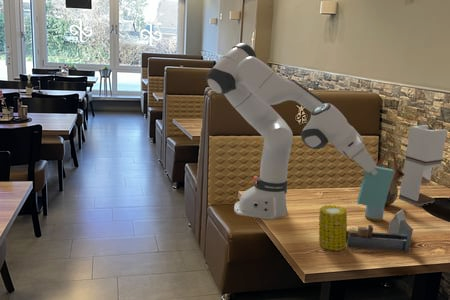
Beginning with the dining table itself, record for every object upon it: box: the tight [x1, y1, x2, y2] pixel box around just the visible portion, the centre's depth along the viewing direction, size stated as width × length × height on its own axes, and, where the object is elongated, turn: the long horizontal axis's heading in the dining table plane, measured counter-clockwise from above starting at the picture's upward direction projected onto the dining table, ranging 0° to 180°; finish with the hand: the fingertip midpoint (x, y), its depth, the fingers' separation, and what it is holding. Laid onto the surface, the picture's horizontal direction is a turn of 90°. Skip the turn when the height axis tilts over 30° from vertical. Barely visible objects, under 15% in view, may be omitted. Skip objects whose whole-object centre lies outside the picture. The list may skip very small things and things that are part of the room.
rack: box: [346, 220, 414, 254], centre depth 154 cm, size 21×8×9 cm, turn 87°
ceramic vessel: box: [375, 150, 404, 207], centre depth 194 cm, size 16×9×25 cm, turn 30°
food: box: [318, 204, 348, 252], centre depth 152 cm, size 15×12×10 cm
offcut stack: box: [347, 224, 374, 240], centre depth 155 cm, size 8×2×8 cm, turn 87°
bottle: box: [364, 205, 386, 222], centre depth 178 cm, size 7×7×15 cm
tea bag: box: [387, 209, 407, 234], centre depth 163 cm, size 4×7×10 cm, turn 139°
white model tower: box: [398, 124, 448, 207], centre depth 200 cm, size 11×11×35 cm
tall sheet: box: [356, 166, 394, 210], centre depth 151 cm, size 9×2×14 cm, turn 87°
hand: (373, 171), depth 150 cm, fingers closed on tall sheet, 2 cm apart
